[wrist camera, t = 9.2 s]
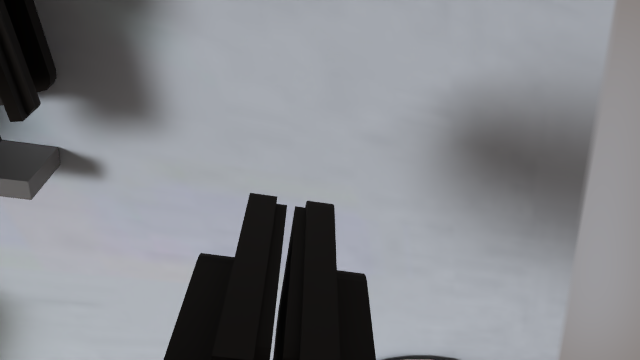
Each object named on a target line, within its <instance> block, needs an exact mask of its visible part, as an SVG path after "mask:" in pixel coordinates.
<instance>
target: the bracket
mask: <svg viewBox="0 0 640 360" xmlns="http://www.w3.org/2000/svg"><path fill="white" fill-rule="evenodd" d="M59 165H60V159H59V152H58V147H50V146H42V145H35V144H27V143H19V142H11V141H3V140H2V141H1V142H0V196H3V197H11V198H20V199H28V200H32V199H33V197H34V196H35V195H36V194H37V192H38V191H39V190H40V189H41V188H42V186H43V185H44V184H45V183H46V181H47V180H48V179H49V178H50V176H51V175H52V174H53V173H54V172H55V170H56V169H57V168H58V167H59Z"/></svg>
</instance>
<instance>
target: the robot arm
mask: <svg viewBox="0 0 640 360" xmlns="http://www.w3.org/2000/svg"><path fill="white" fill-rule="evenodd" d="M276 202H277V197H276V196H269V195H261V194H254V193H250V196H249V200H248V204H247V208H246V212H245V216H244V221H243V225H242V229H241V233H240V238H239V242H238V246H237V250H236V254H235V257H227V256H219V255H211V254H204V253H201V254H200V255H199V257H198V260H197V262H196V265H195V268H194V271H193V274H192V277H191V280H190V283H189V286H188V289H187V292H186V295H185V298H184V301H183V304H182V307H181V310H180V313H179V316H178V319H177V322H176V325H175V328H174V330H173V333H172V336H171V339H170V342H169V345H168V348H167V351H166V354H165V357H164V360H270V352H271V344H272V335H273V326H274V317H275V308H276V299H277V290H278V281H279V272H280V263H281V254H282V245H283V236H284V227H285V218H286V209H287V205H281V204H276ZM273 360H376V357H375V348H374V340H373V331H372V322H371V313H370V305H369V296H368V287H367V280H366V276H365V274H361V273H354V272H346V271H338V270H337V266H336V240H335V214H334V205H333V204H327V203H320V202H312V201H307V202H306V207H305V208H303V207H295V211H294V217H293V224H292V230H291V236H290V242H289V248H288V255H287V261H286V267H285V273H284V279H283V286H282V292H281V298H280V304H279V311H278V319H277V328H276V338H275V347H274V357H273ZM402 360H433V359H402Z"/></svg>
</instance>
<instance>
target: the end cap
mask: <svg viewBox="0 0 640 360" xmlns="http://www.w3.org/2000/svg"><path fill="white" fill-rule="evenodd" d="M55 80H56V68H55V65H54V62H53V59H52V56H51V53H50V50H49V47H48V44H47V41H46V38H45V35H44V32H43V29H42V26H41V23H40V20H39V17H38V14H37V10H36V7H35V4H34V1H33V0H0V105H4V107H5V110H6V112H7V115H8V117H9V120H10V122H17V121H24V120H25V119H26V118H27V117H28V116H29V115H30V114H31V113H32V112H33V111H34V110H36V109H37V108H38V107H39V106H40V100H39V97H38V94H37V92H41V91H44V90H47V89H48V88H49V87H50V86H51V85H52V84H53V83H54V81H55ZM1 141H2V139H1V137H0V142H1Z"/></svg>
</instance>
